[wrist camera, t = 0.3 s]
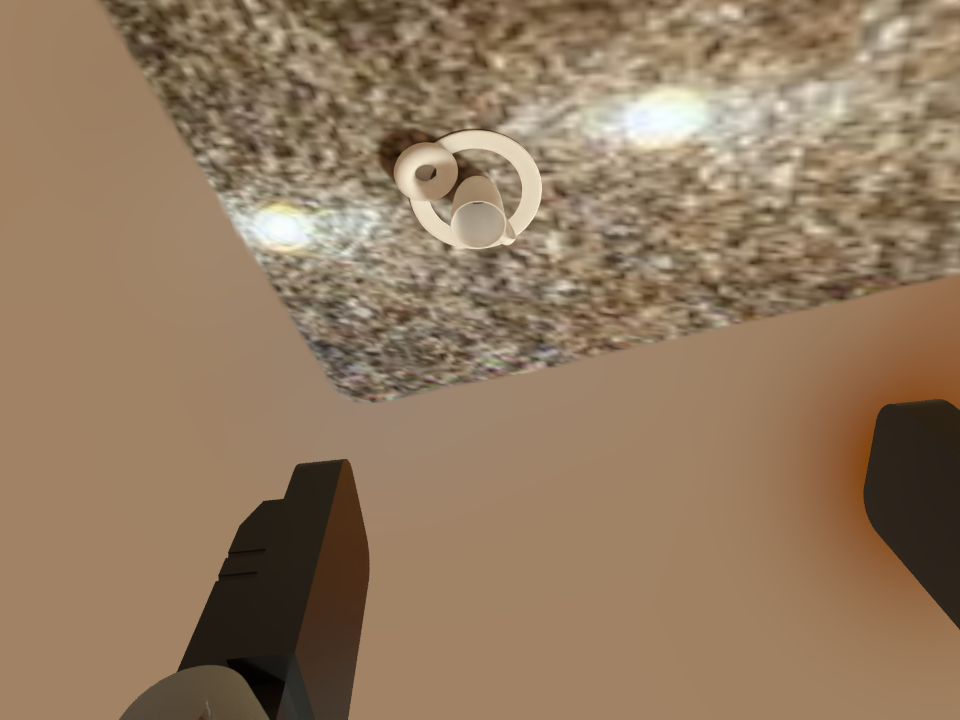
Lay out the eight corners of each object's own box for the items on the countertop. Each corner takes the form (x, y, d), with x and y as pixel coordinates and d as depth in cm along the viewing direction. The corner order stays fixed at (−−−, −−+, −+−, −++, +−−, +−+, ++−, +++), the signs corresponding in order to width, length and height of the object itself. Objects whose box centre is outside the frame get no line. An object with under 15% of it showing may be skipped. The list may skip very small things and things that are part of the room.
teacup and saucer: (374, 157, 40) (368, 193, 37) (493, 87, 37) (496, 120, 34) (453, 263, 45) (453, 302, 42) (563, 209, 42) (570, 246, 39)
